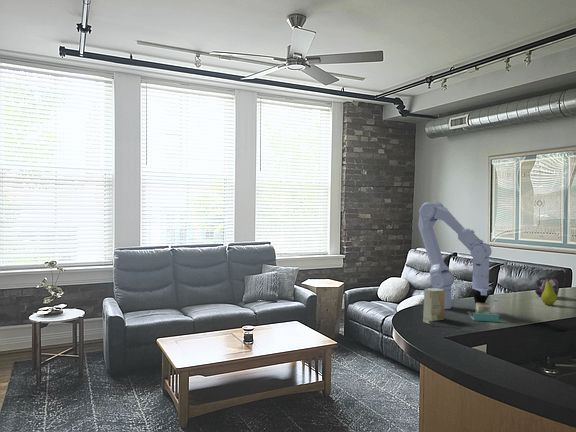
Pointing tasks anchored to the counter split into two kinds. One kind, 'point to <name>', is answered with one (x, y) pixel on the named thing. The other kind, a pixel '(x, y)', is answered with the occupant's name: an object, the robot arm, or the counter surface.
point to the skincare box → (433, 305)
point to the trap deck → (484, 317)
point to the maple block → (482, 308)
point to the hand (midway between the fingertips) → (479, 310)
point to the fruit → (548, 294)
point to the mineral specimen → (542, 282)
